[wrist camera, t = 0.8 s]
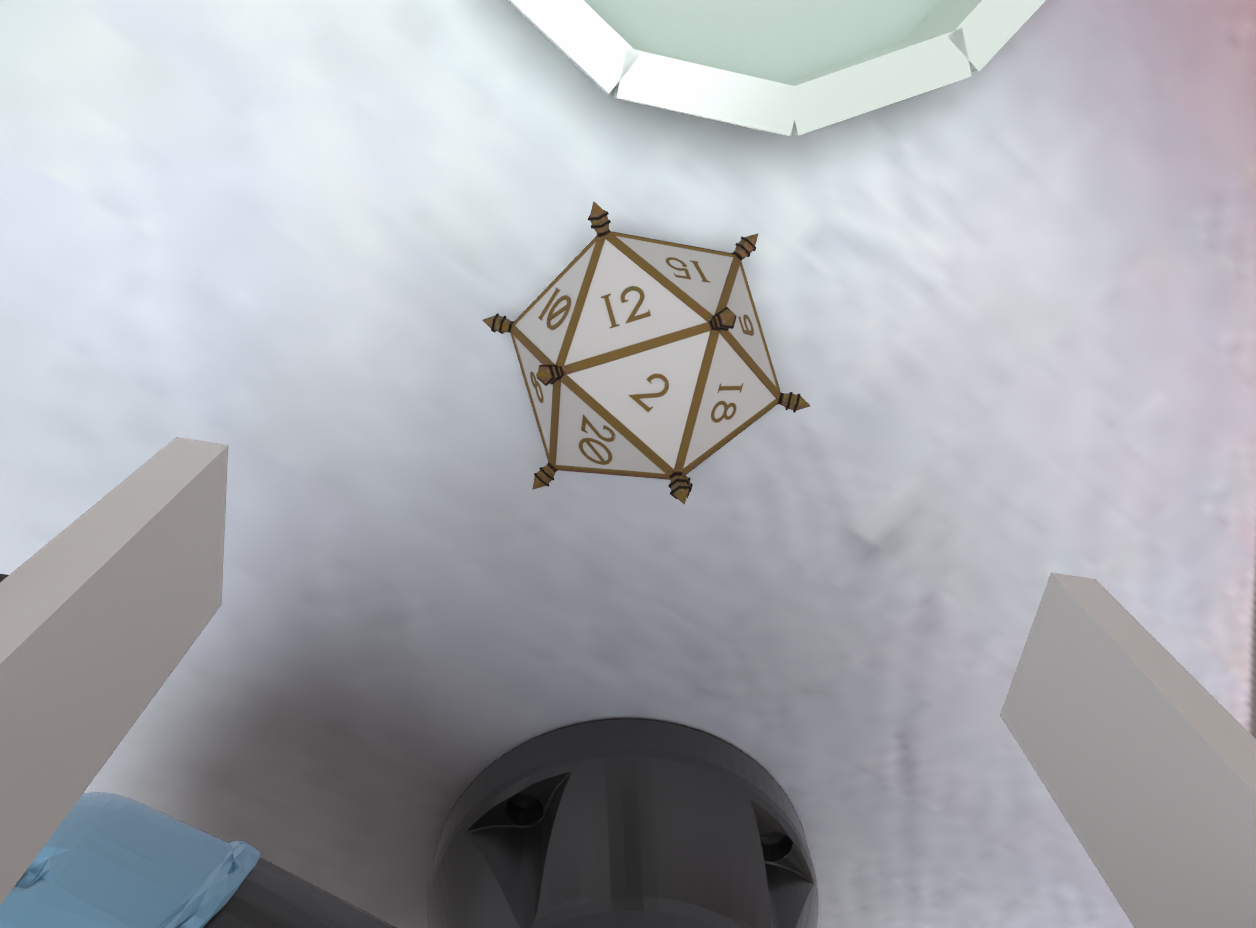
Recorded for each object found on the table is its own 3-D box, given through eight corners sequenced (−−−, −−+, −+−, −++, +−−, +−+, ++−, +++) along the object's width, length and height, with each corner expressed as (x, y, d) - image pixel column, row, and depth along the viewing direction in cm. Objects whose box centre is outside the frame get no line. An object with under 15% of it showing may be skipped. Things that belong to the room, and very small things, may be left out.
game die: (669, 351, 37) (741, 588, 32) (445, 322, 34) (483, 585, 28) (791, 159, 31) (906, 415, 26) (531, 97, 27) (601, 381, 22)
